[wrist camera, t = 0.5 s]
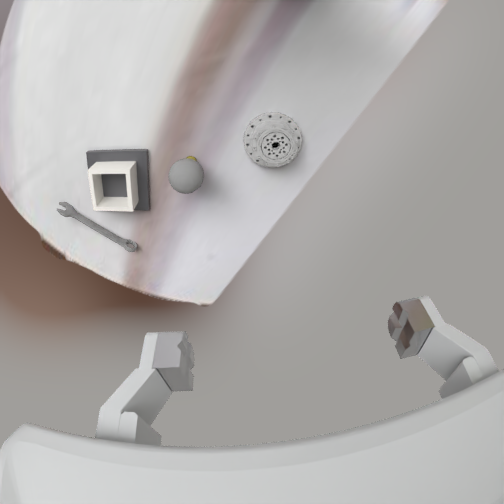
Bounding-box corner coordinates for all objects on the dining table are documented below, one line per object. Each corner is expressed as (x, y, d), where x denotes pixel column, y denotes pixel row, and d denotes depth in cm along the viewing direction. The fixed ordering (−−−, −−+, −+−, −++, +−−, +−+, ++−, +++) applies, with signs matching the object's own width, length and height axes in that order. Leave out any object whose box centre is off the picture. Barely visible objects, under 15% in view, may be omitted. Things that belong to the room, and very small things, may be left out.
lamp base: (88, 150, 46) (77, 160, 42) (147, 149, 47) (140, 158, 43) (95, 206, 53) (86, 219, 49) (150, 207, 54) (144, 221, 50)
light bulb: (193, 180, 52) (187, 206, 44) (170, 162, 49) (158, 185, 41) (213, 158, 50) (209, 180, 42) (189, 140, 47) (180, 158, 39)
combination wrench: (135, 252, 57) (55, 205, 48) (133, 256, 57) (53, 210, 48) (139, 241, 60) (62, 196, 51) (136, 245, 60) (61, 201, 51)
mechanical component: (267, 100, 44) (232, 145, 49) (270, 104, 41) (232, 152, 45) (311, 134, 48) (276, 175, 53) (318, 141, 45) (280, 184, 49)
